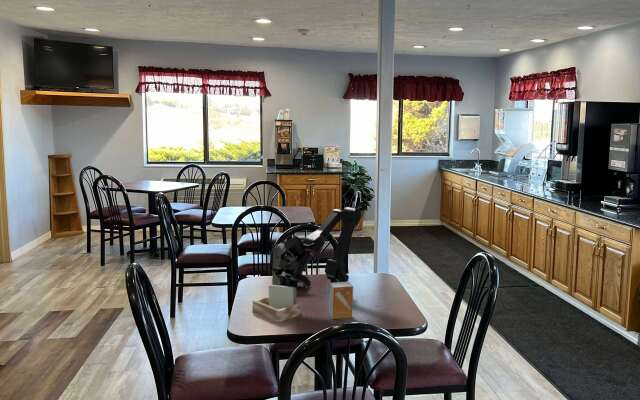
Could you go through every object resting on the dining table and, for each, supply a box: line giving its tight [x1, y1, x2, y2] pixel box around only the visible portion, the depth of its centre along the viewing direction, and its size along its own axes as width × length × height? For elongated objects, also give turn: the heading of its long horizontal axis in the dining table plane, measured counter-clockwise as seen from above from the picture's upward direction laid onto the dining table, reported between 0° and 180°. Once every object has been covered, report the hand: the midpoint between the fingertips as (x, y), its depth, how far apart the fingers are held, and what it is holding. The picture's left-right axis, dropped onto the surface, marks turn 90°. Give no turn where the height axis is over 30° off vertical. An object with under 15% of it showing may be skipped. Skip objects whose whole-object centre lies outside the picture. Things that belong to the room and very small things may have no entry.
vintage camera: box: [271, 241, 310, 286], centre depth 252 cm, size 10×15×20 cm, turn 78°
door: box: [268, 284, 297, 309], centre depth 219 cm, size 1×12×10 cm, turn 71°
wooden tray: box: [251, 295, 302, 323], centre depth 219 cm, size 12×16×4 cm
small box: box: [328, 281, 354, 320], centre depth 216 cm, size 8×6×13 cm
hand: (280, 294), depth 220 cm, fingers closed
